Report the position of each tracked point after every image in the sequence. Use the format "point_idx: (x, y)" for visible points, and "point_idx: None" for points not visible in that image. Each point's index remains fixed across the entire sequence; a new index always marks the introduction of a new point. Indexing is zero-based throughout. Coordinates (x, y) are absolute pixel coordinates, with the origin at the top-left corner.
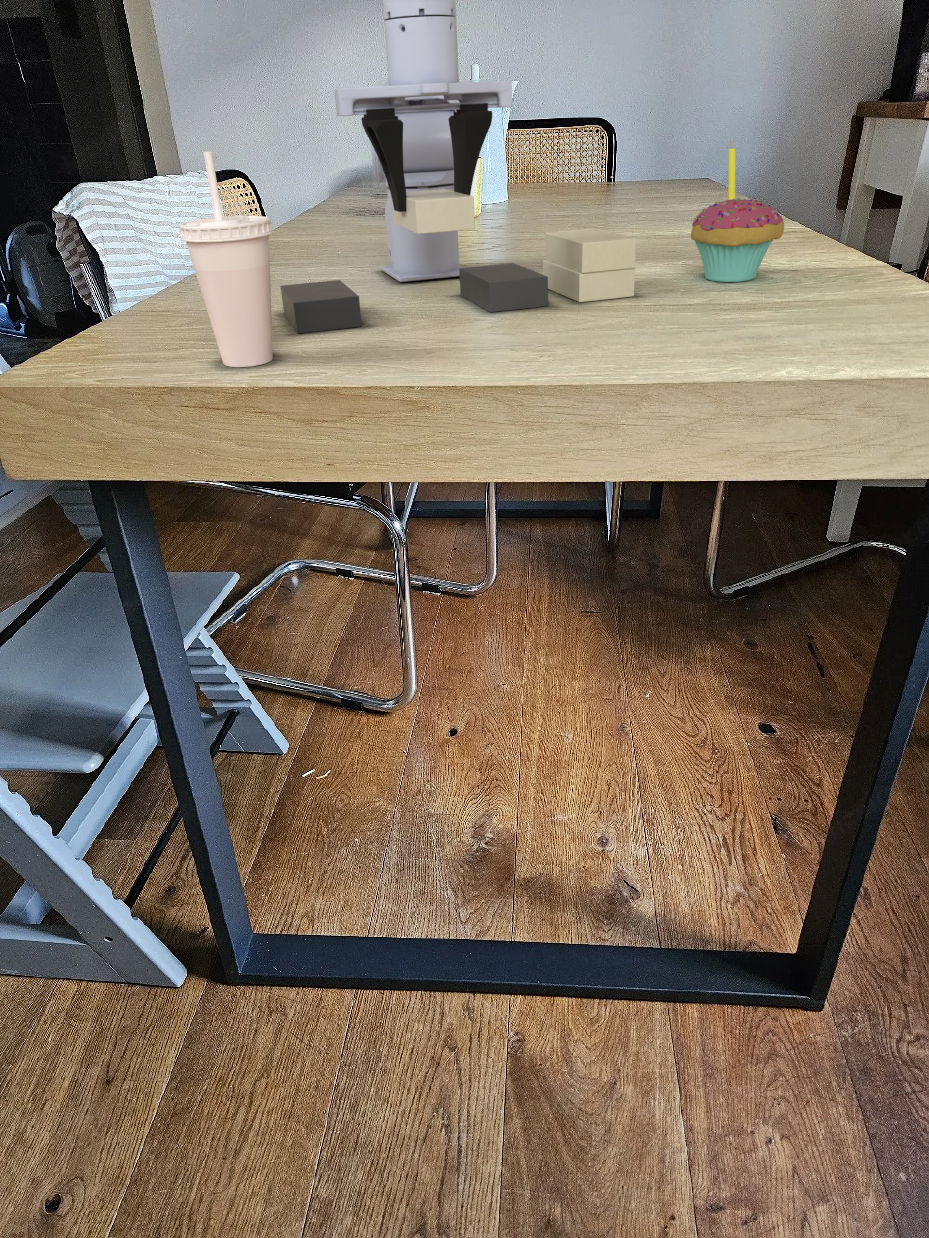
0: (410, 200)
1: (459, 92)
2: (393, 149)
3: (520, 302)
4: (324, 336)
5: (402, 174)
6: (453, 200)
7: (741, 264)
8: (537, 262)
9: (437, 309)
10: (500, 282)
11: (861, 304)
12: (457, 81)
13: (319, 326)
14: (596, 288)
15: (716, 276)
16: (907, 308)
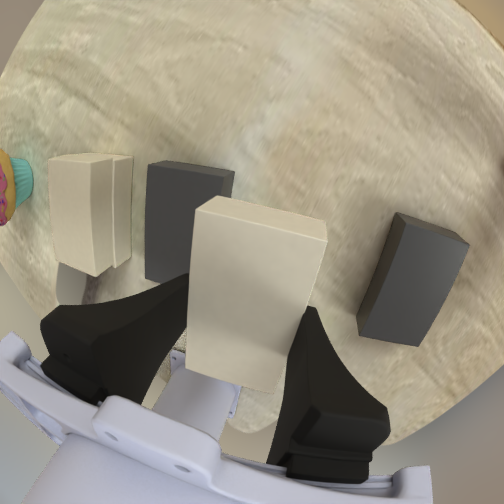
0: (315, 280)
1: (75, 399)
2: (333, 374)
3: (193, 165)
4: (443, 200)
5: (309, 339)
6: (241, 218)
7: (15, 159)
8: None
9: None
10: (208, 173)
11: (26, 52)
12: (66, 437)
13: (438, 227)
14: (110, 156)
15: (29, 171)
16: (24, 35)
